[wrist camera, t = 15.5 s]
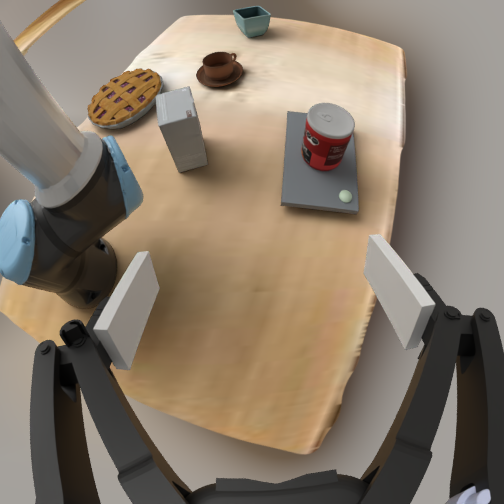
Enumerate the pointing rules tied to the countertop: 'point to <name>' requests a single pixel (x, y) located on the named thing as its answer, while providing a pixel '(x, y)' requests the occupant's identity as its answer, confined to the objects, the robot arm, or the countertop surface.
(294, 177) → the plate
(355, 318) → the countertop surface
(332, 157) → the canned food
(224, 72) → the cup and saucer
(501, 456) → the robot arm
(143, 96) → the pie
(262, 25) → the flower pot
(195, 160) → the skincare box
